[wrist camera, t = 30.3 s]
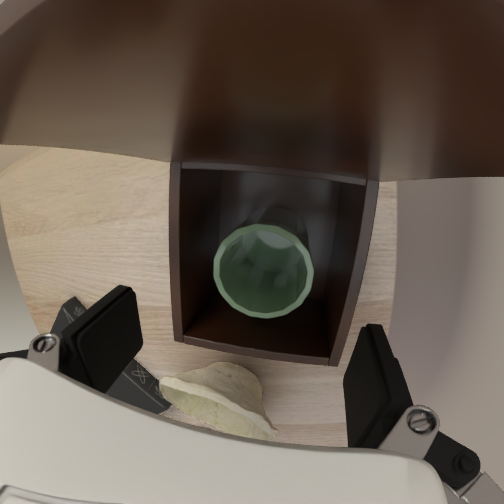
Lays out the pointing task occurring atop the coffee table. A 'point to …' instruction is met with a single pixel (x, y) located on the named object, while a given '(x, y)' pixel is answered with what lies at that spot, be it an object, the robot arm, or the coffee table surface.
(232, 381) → the bowl
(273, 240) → the green cup
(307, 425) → the coffee table surface
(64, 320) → the book
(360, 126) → the lid
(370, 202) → the chest
